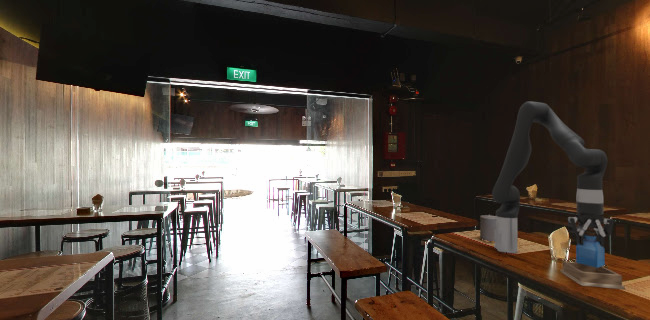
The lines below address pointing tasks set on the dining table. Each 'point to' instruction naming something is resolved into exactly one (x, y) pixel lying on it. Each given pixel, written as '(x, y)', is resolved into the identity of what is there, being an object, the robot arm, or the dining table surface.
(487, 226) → the pillar candle
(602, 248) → the perfume bottle
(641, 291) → the dining table surface
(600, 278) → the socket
